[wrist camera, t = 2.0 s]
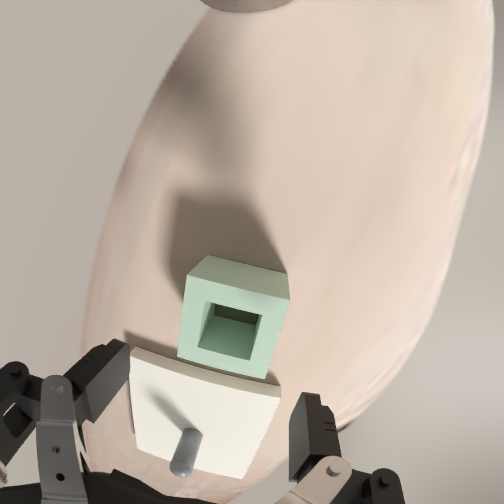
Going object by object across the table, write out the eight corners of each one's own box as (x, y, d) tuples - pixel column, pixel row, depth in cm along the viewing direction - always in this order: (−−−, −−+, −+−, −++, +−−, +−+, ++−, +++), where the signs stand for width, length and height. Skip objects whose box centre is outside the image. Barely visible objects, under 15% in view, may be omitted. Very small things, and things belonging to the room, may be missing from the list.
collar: (207, 254, 19) (187, 274, 14) (287, 273, 18) (289, 300, 14) (196, 323, 20) (177, 356, 16) (267, 342, 20) (264, 379, 15)
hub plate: (135, 346, 21) (95, 394, 14) (281, 386, 21) (279, 450, 14) (141, 440, 25) (121, 480, 18) (243, 470, 25) (236, 514, 18)
